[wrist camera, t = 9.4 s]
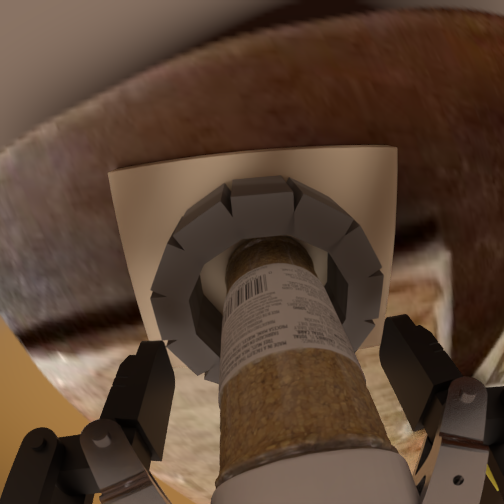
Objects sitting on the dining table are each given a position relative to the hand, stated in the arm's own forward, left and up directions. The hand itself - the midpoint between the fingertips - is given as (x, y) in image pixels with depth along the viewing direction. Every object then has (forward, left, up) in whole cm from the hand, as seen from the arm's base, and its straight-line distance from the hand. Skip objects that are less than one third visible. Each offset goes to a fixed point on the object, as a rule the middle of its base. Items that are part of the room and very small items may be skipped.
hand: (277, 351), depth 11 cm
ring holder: (0, 0, -7) cm, 7 cm away
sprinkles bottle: (0, 0, -6) cm, 6 cm away
